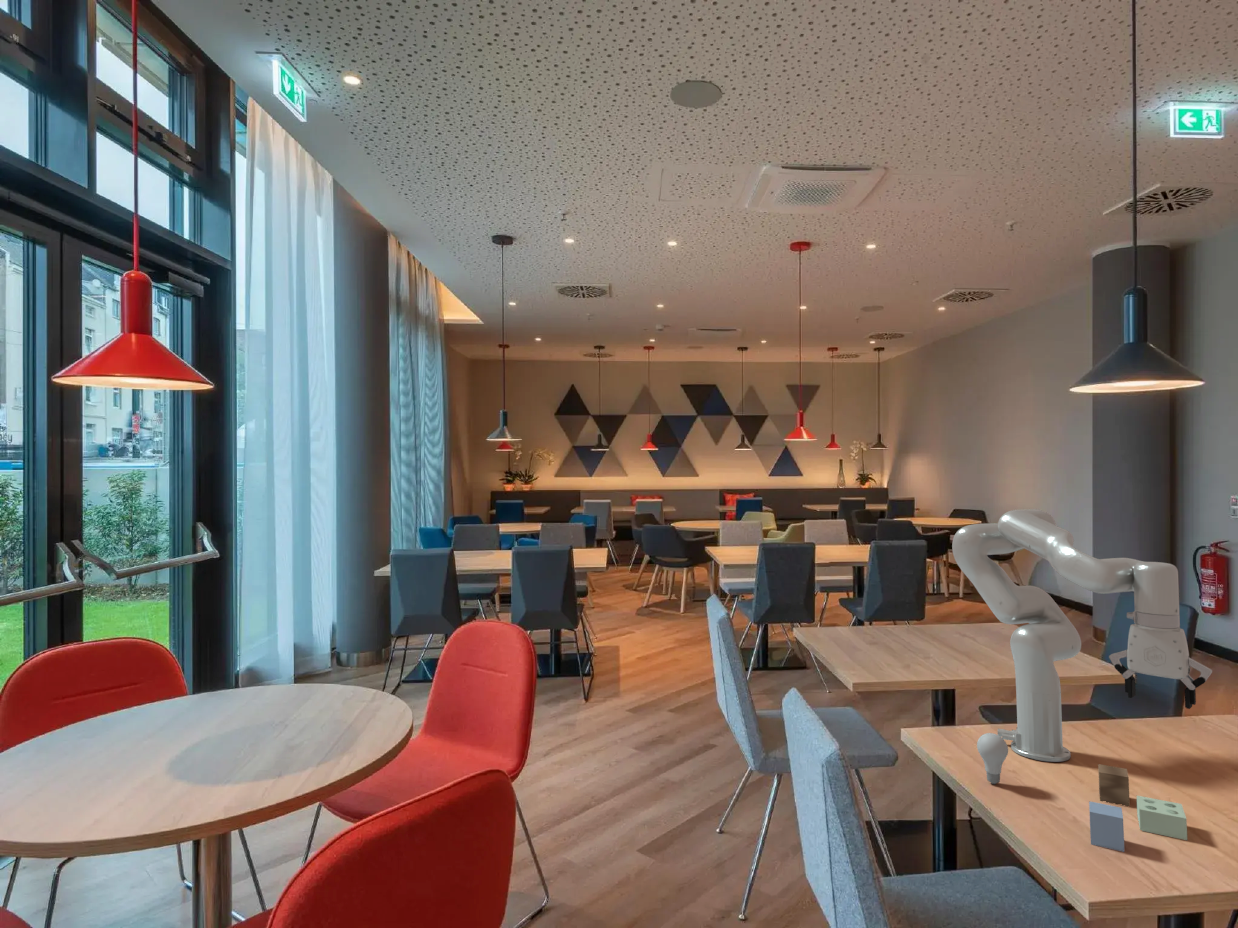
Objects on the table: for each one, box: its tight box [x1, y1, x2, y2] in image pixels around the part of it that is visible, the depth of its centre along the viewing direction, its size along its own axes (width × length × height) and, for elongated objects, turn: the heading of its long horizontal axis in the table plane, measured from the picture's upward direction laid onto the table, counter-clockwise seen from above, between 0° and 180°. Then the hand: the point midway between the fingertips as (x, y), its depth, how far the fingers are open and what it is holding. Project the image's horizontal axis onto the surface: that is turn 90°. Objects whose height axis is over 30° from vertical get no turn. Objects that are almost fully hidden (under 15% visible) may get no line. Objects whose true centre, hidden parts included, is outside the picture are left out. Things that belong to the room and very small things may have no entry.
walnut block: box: [1097, 763, 1131, 807], centre depth 144 cm, size 5×5×6 cm
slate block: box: [1088, 801, 1125, 853], centre depth 127 cm, size 5×5×6 cm
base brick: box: [1136, 795, 1188, 841], centre depth 132 cm, size 7×7×4 cm
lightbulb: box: [976, 732, 1009, 785], centre depth 152 cm, size 6×6×11 cm
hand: (1159, 701), depth 145 cm, fingers open, 9 cm apart
